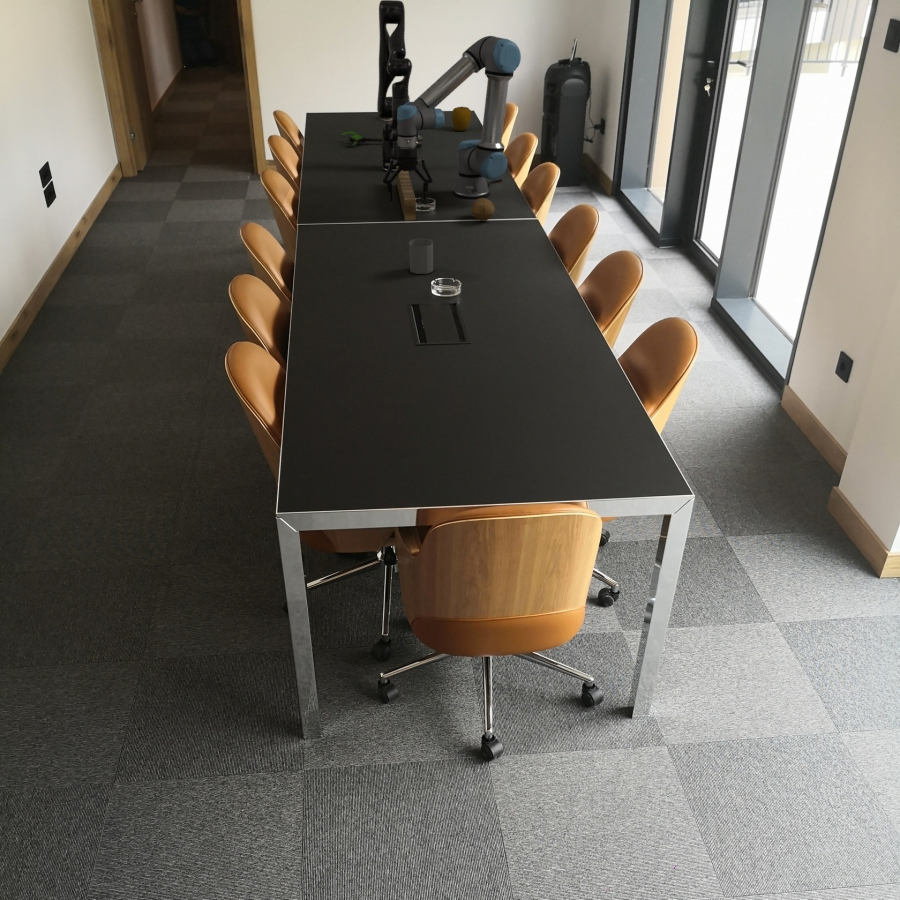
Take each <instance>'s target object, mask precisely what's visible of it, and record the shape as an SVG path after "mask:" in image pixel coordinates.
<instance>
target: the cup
mask: <svg viewBox="0 0 900 900" xmlns="http://www.w3.org/2000/svg"><path fill="white" fill-rule="evenodd" d="M408 253H409V272H411V273H412V274H416V275H426V274H430V273H432V272H434V241H433V240H431V239H428V238H422V237H421V238H420V237H419V238H414V239H411V240H410V241H409V242H408Z"/></svg>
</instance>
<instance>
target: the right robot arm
mask: <svg viewBox="0 0 900 900" xmlns="http://www.w3.org/2000/svg"><path fill="white" fill-rule="evenodd" d="M521 54H522V53H521V50H520V48H519V46H518V45H517V43H516V42H514V41H512V40H510V39H509V38H503V37H499V36H494V35H487V36H484V37H481V38H479V39H478V40H477V41H475V42H473V44H471V45H470V46H469V47H468V48H466V49H465V50H464V51H463V52H462V55H461V58H460V59H459V60H457V61H456V62H455V63H454V64H453V65H452V66H451V67H450V68H449V69H447V70H446V71H445V72H444V73H443V74H442V75H441V76H440V77H439V78H437V80H436V81H434V83H432V84H431V85H430V86H429V87H428V88H427V89H426V90H424V91H423V92H422V93H421V94H420V95H419V96H418V97H417V98H416V99H414V100H413V101H410V102H407V103H405V104H404V105H402V106H399V107H398V112H397V123H398V146H399V147H398V159H397V160H393V159H390V165H389V167H388V170H387V171H385V174H384V176H383V178H382V183H383V184H385V185H386V187H387V188H386V191H387V193H388V194H389V200H390V202H393V184H392V183H393V182H394V180H395V179H397V175H398V174H399V173H400V172H401V171H402V170H403V171H408V172H412V171H414V172H415V173H416V175H417V176H418V177H419V178H420V179H421V180H422V181H423V182H422V201H423V202H424V201H425V202H426V193H428V192H429V184H431V183H433V178H432V177H431V174H430V172H429V170H428V168H427V166H426V163H425V158H419V159H418V157H417V156H418V153H417V152H418V151H417V150H418V149H417V144H418V143H417V141H418V139H417V138H418V137H417V131H427V130H436V129H441V128H443V126H444V125H445V119H446V118H445V113H444V111H443V110H442V109H441V108H436V107H438V106H439V105H440V104H442V102H443V101H444V100H445V99H446V98H448V97H449V96H450V95H451V94H452V93H453V92H454V91H455V90H457V88H458V87H460V86H461V85H462V84H463V83H464V82H465V81H467V80H468V78H470V77H471V76H472V75H473V74H478V73H479V72H480V71H481V70H483V69H484V75H485V76H486V78H487V85H486V92H485V101H484V110H483V119H482V121H483V122H482V129H481V136H480V137H481V138H480V139H467V140H463V141H460V142H459V145H458V177H457V181H456V184H455V187H454V195H455V196H456V197H457V198H462V199H470V200H471V199H472V200H474V199H475V200H476V199H479V198H485V197H487V196H489V194H490V189H489V187H488V186H490V185H491V184H493V183H497V182H498V183H499V182H503V179H502V178H501V177H502V176H503V175H504V174H505V172H506V171H507V168H508V163H509V162H508V157H506V154H505V145H504V143H503V142H502V141H503V132H504V126H505V125H504V124H505V115H506V107H507V98H508V90H509V83H510V80H512V78H514V73H515V71H516V70H517V68H519V67H520V64H521V60H522V55H521ZM396 163H397V164H398V165H399V167H398V168H397V170H396V171H394V172H393V173H392V172H391V170H392V168H393V165H395V164H396ZM418 164H419V165H420V166H421V167H422V169H423V171H424V173H425V175H426V177H425V176H424V175H423V173H422V172H421V171H420V170H419V168H418V167H417V165H418ZM391 173H392V174H391ZM390 175H391V176H390ZM499 178H500V179H499ZM487 180H491V181H488V182H487Z"/></svg>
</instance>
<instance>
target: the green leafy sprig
mask: <svg viewBox="0 0 900 900" xmlns="http://www.w3.org/2000/svg"><path fill="white" fill-rule="evenodd" d="M347 134H352V135H350V136H348V138H349V139H348V142H350V143H352V144H347V143H345V142H341V141H339V144H341V145H343V146H344V147H348V148H355V147H356V146H358V145H360V144H364V143H365V142H377V143H379V142H381V143H382V138H378V137H377V138H376V137H374V138H373V137H365V136H363V135H361V134H359V133H357V132H356V131H345V132H343V133H341V134H339V136H343V135H347Z"/></svg>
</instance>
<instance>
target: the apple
mask: <svg viewBox="0 0 900 900" xmlns="http://www.w3.org/2000/svg"><path fill="white" fill-rule="evenodd" d="M451 121H452V125H453V128H454V129H455V131H457V132H463V131H466V130H467V129H468V128H469V126H470V124H471V121H472V111H471V108H469V107H467V106H462V105H461V106H457V107H454V108H452V111H451Z"/></svg>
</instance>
